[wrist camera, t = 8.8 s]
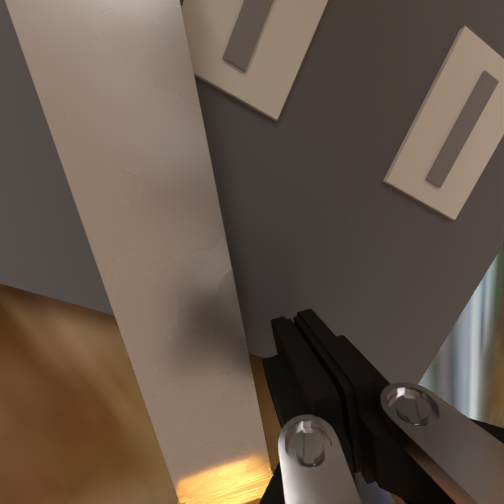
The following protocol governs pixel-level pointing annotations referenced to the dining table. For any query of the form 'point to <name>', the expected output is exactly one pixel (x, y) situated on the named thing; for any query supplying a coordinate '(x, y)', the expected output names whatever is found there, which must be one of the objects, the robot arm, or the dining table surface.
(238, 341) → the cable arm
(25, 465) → the dining table surface
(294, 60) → the tray
